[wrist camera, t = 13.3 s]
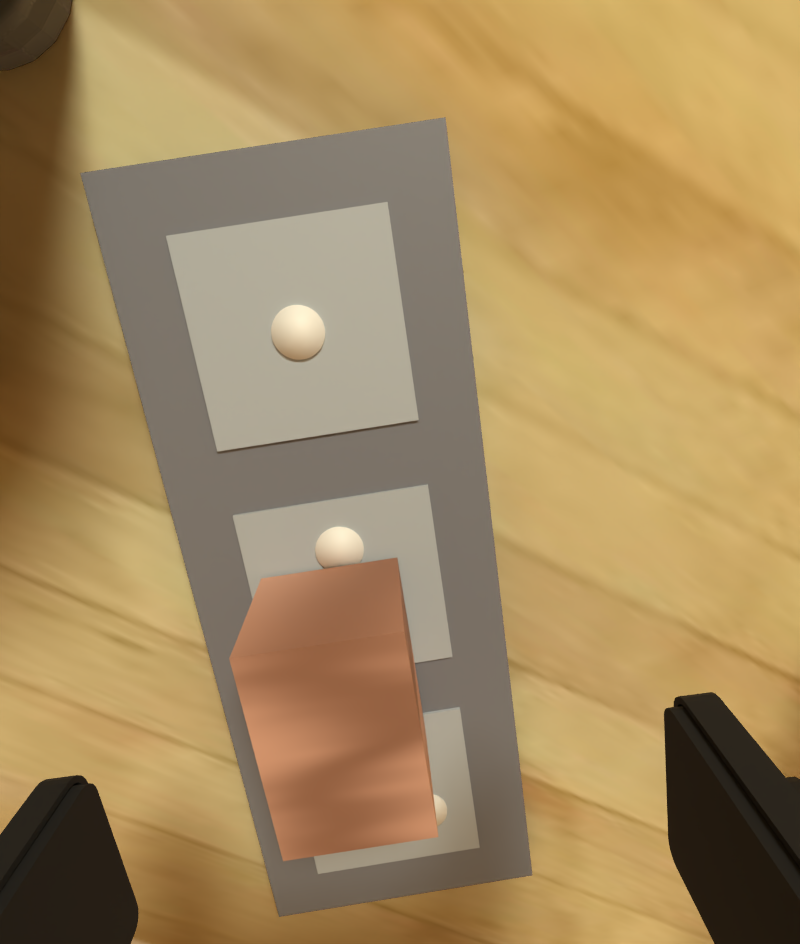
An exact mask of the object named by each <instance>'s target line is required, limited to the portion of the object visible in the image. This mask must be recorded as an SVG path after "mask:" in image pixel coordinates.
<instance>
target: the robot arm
mask: <svg viewBox="0 0 800 944" xmlns="http://www.w3.org/2000/svg"><path fill="white" fill-rule="evenodd" d="M664 725H665V754H666V783H667V812H668V839H669V846H670V850H671V854H672V857H673V860H674V863H675V865H676V867H677V869H678V871H679V873H680V875H681V877H682V879H683V881H684V883H685V885H686V887H687V889H688V891H689V893H690V895H691V897H692V899H693V901H694V903H695V905H696V907H697V909H698V911H699V913H700V915H701V917H702V919H703V921H704V923H705V925H706V927H707V929H708V931H709V933H710V935H711V937H712V939H713V941H714V943H715V944H800V779H798V778H796V777H787V778H785V776H784V775H783V774H782V773H781V772H780V770H779V769H778V768H777V767H776V766H775V764H774V763H773V762H772V761H771V759H770V758H769V757H768V756H767V755H766V753H765V752H764V751H763V750H762V749H761V747H760V746H759V745H758V744H757V742H756V741H755V740H754V739H753V738H752V736H751V735H750V734H749V733H748V732H747V730H746V729H745V728H744V727H743V726H742V724H741V723H740V722H739V721H738V719H737V718H736V717H735V716H734V715H733V713H732V712H731V711H730V710H729V709H728V707H727V706H726V705H725V704H724V702H723V701H722V700H721V699H720V698H719V697H718V696H717V695H716V694H715V693H712V692H710V693H702V694H695V695H687V696H679V697H676V698H675V701H674V707H671V708H666V709H665V711H664ZM137 923H138V905H137V902H136V899H135V896H134V893H133V890H132V887H131V885H130V882H129V879H128V876H127V873H126V870H125V867H124V865H123V862H122V859H121V856H120V853H119V850H118V847H117V845H116V842H115V839H114V836H113V833H112V830H111V828H110V825H109V822H108V819H107V816H106V813H105V810H104V808H103V805H102V802H101V799H100V796H99V793H98V790H97V788H96V786H95V785H93V784H90V783H89V784H88V782H87V780H86V779H85V778H84V777H83V776H79V775H76V776H69V777H61V778H53V779H46V780H44V781H42V782H40V783H39V784H38V785H37V786H36V788H35V789H34V790H33V792H32V793H31V794H30V796H29V797H28V798H27V800H26V801H25V802H24V804H23V805H22V806H21V808H20V809H19V810H18V812H17V813H16V814H15V816H14V817H13V818H12V820H11V821H10V822H9V824H8V825H7V826H6V828H5V829H4V830H3V832H2V833H1V834H0V944H131V941H132V939H133V936H134V934H135V931H136V927H137Z"/></svg>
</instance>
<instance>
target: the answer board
mask: <svg viewBox="0 0 800 944" xmlns="http://www.w3.org/2000/svg"><path fill="white" fill-rule="evenodd" d="M80 174H81V177H82V181H83V185H84V189H85V192H86V196H87V200H88V204H89V207H90V211H91V215H92V219H93V222H94V226H95V230H96V233H97V237H98V241H99V245H100V248H101V252H102V256H103V260H104V263H105V267H106V271H107V275H108V278H109V282H110V286H111V290H112V293H113V297H114V301H115V305H116V308H117V312H118V316H119V320H120V323H121V327H122V331H123V334H124V338H125V342H126V346H127V349H128V353H129V357H130V361H131V364H132V368H133V372H134V376H135V379H136V383H137V387H138V391H139V394H140V398H141V402H142V406H143V409H144V413H145V417H146V420H147V424H148V428H149V432H150V435H151V439H152V443H153V447H154V450H155V454H156V458H157V462H158V465H159V469H160V473H161V477H162V480H163V484H164V488H165V492H166V495H167V499H168V503H169V506H170V510H171V514H172V518H173V521H174V525H175V529H176V533H177V536H178V540H179V544H180V548H181V551H182V555H183V559H184V563H185V566H186V570H187V574H188V578H189V581H190V585H191V589H192V592H193V596H194V600H195V604H196V607H197V611H198V615H199V619H200V622H201V626H202V630H203V634H204V637H205V641H206V645H207V649H208V652H209V656H210V660H211V664H212V667H213V671H214V675H215V679H216V682H217V686H218V690H219V693H220V697H221V701H222V705H223V708H224V712H225V716H226V720H227V723H228V727H229V731H230V735H231V738H232V742H233V746H234V750H235V753H236V757H237V761H238V765H239V768H240V772H241V776H242V779H243V783H244V787H245V791H246V794H247V798H248V802H249V806H250V809H251V813H252V817H253V821H254V824H255V828H256V832H257V836H258V839H259V843H260V847H261V851H262V854H263V858H264V862H265V865H266V869H267V873H268V877H269V880H270V884H271V888H272V892H273V895H274V899H275V903H276V907H277V910H278V914H279V917H281V916H287V915H293V914H299V913H305V912H311V911H317V910H323V909H330V908H336V907H342V906H348V905H354V904H360V903H366V902H372V901H378V900H384V899H391V898H397V897H403V896H409V895H415V894H421V893H427V892H433V891H439V890H446V889H452V888H458V887H464V886H470V885H476V884H482V883H488V882H494V881H500V880H507V879H513V878H519V877H525V876H531V875H532V868H531V859H530V850H529V842H528V833H527V824H526V815H525V807H524V798H523V789H522V781H521V772H520V763H519V754H518V746H517V737H516V728H515V720H514V711H513V702H512V694H511V685H510V676H509V667H508V659H507V650H506V641H505V633H504V624H503V615H502V606H501V598H500V589H499V580H498V572H497V563H496V554H495V545H494V537H493V528H492V519H491V511H490V502H489V493H488V484H487V476H486V467H485V458H484V450H483V441H482V432H481V424H480V415H479V406H478V397H477V389H476V380H475V371H474V363H473V354H472V345H471V336H470V328H469V319H468V310H467V302H466V293H465V284H464V275H463V267H462V258H461V249H460V241H459V232H458V223H457V214H456V206H455V197H454V188H453V180H452V171H451V162H450V154H449V145H448V136H447V127H446V119H445V118H438V119H432V120H425V121H419V122H412V123H406V124H399V125H393V126H386V127H379V128H373V129H366V130H360V131H353V132H347V133H340V134H333V135H327V136H320V137H314V138H307V139H301V140H294V141H288V142H281V143H274V144H268V145H261V146H255V147H248V148H242V149H235V150H229V151H222V152H215V153H209V154H202V155H196V156H189V157H183V158H176V159H170V160H163V161H156V162H150V163H143V164H137V165H130V166H124V167H117V168H110V169H104V170H97V171H91V172H84V173H80ZM390 558H398V564H399V571H400V577H401V583H402V589H403V595H404V601H405V607H406V613H407V619H408V626H409V632H410V638H411V644H412V650H413V656H414V662H415V668H416V674H417V680H418V687H419V693H420V699H421V705H422V711H423V717H424V723H425V730H426V738H427V746H428V754H429V763H430V771H431V779H432V787H433V796H434V804H435V812H436V820H437V829H438V837H436V838H430V839H423V840H417V841H410V842H404V843H397V844H391V845H384V846H378V847H372V848H365V849H359V850H352V851H346V852H339V853H333V854H326V855H320V856H313V857H307V858H301V859H294V860H288V861H283V859H282V855H281V851H280V848H279V844H278V840H277V836H276V833H275V829H274V825H273V821H272V818H271V814H270V810H269V806H268V803H267V799H266V795H265V791H264V788H263V784H262V780H261V776H260V772H259V769H258V765H257V761H256V757H255V754H254V750H253V746H252V742H251V739H250V735H249V731H248V727H247V724H246V720H245V716H244V712H243V709H242V705H241V701H240V697H239V694H238V690H237V686H236V682H235V679H234V675H233V671H232V667H231V664H230V660H229V658H230V655H231V653H232V650H233V648H234V645H235V643H236V640H237V638H238V635H239V633H240V630H241V628H242V625H243V623H244V620H245V618H246V615H247V613H248V610H249V608H250V605H251V603H252V600H253V598H254V595H255V593H256V590H257V588H258V585H259V583H260V580H261V579H262V578H268V577H275V576H281V575H287V574H294V573H300V572H307V571H313V570H320V569H326V568H333V567H339V566H345V565H352V564H358V563H365V562H371V561H378V560H384V559H390Z"/></svg>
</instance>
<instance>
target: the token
mask: <svg viewBox="0 0 800 944" xmlns="http://www.w3.org/2000/svg"><path fill="white" fill-rule="evenodd" d="M229 660H230V664H231V667H232V671H233V675H234V679H235V682H236V686H237V690H238V694H239V697H240V701H241V705H242V709H243V712H244V716H245V720H246V724H247V727H248V731H249V735H250V739H251V742H252V746H253V750H254V754H255V757H256V761H257V765H258V769H259V772H260V776H261V780H262V784H263V788H264V791H265V795H266V799H267V803H268V806H269V810H270V814H271V818H272V821H273V825H274V829H275V833H276V836H277V840H278V844H279V848H280V851H281V855H282V859H283V861H288V860H294V859H301V858H307V857H313V856H320V855H326V854H333V853H339V852H346V851H352V850H359V849H365V848H372V847H378V846H384V845H391V844H397V843H404V842H410V841H417V840H423V839H430V838H436V837H438V829H437V820H436V812H435V804H434V796H433V787H432V779H431V771H430V763H429V754H428V746H427V738H426V730H425V723H424V717H423V711H422V705H421V699H420V693H419V687H418V680H417V674H416V668H415V662H414V656H413V650H412V644H411V638H410V632H409V626H408V619H407V613H406V607H405V601H404V595H403V589H402V583H401V577H400V571H399V564H398V558H390V559H384V560H378V561H371V562H365V563H358V564H352V565H345V566H339V567H333V568H326V569H320V570H313V571H307V572H300V573H294V574H287V575H281V576H275V577H268V578H262V579H261V580H260V583H259V585H258V588H257V590H256V593H255V595H254V598H253V600H252V603H251V605H250V608H249V610H248V613H247V615H246V618H245V620H244V623H243V625H242V628H241V630H240V633H239V635H238V638H237V640H236V643H235V645H234V648H233V650H232V653H231V655H230V658H229Z"/></svg>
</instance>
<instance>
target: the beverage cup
mask: <svg viewBox="0 0 800 944" xmlns="http://www.w3.org/2000/svg"><path fill="white" fill-rule="evenodd" d="M71 2H72V0H0V70H10V69H13V68H15V67H18V66H21V65H24V64H26V63H29V62H32V61H34V60H36V59H37V58H38V57H39V56H40V55H41V54H42V53H43V52H44V51H46V50H47V49H48V48H49V47H50V46H51V45H52V44H53V43H54V42H56V40H57V38H58V36H59V34H60V32H61V30H62V28H63V26H64V24H65V22H66V20H67V18H68V16H69V14H70V8H71Z"/></svg>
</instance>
